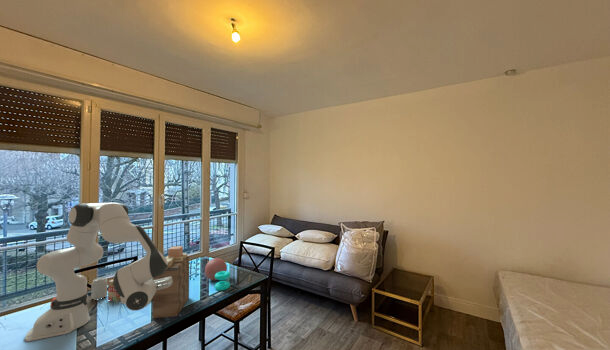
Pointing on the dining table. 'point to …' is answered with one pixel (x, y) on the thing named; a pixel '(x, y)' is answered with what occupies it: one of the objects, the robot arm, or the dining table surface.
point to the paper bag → (172, 291)
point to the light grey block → (99, 288)
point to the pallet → (175, 259)
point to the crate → (175, 251)
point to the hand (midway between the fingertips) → (149, 283)
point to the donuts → (222, 284)
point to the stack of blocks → (112, 292)
